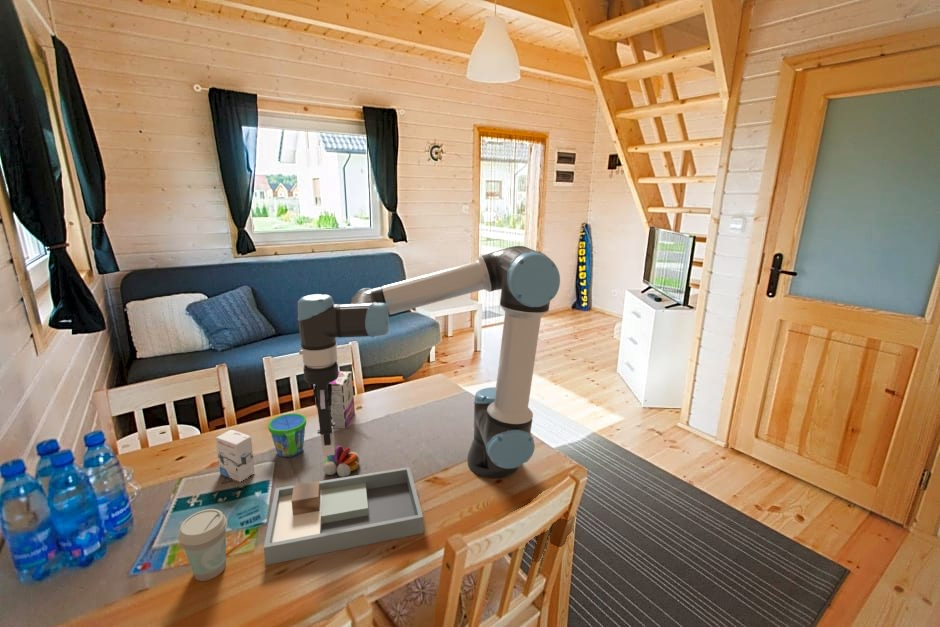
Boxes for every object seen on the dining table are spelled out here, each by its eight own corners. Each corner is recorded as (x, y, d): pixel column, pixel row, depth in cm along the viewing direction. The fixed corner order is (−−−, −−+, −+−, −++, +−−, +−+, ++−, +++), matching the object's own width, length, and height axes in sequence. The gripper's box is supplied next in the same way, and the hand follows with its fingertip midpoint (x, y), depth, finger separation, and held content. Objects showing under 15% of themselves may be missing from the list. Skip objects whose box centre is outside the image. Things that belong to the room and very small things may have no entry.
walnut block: (320, 494, 112) (319, 481, 110) (319, 510, 106) (318, 496, 105) (295, 499, 110) (293, 485, 109) (293, 515, 104) (291, 501, 103)
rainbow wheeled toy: (350, 480, 121) (349, 457, 119) (318, 476, 123) (316, 453, 121) (364, 463, 129) (362, 441, 127) (333, 458, 131) (332, 437, 129)
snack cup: (310, 461, 129) (307, 430, 127) (271, 469, 125) (267, 438, 123) (307, 435, 143) (304, 407, 141) (272, 441, 139) (268, 412, 137)
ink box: (219, 474, 123) (213, 437, 120) (235, 465, 127) (230, 428, 124) (241, 483, 119) (235, 445, 116) (256, 473, 124) (251, 436, 121)
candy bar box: (341, 412, 158) (338, 370, 154) (355, 413, 158) (352, 370, 154) (331, 429, 147) (328, 384, 143) (346, 429, 147) (343, 384, 143)
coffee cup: (200, 594, 87) (190, 543, 83) (178, 574, 91) (168, 526, 88) (241, 564, 94) (234, 517, 90) (219, 547, 98) (211, 501, 95)
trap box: (410, 481, 121) (409, 466, 120) (423, 533, 103) (423, 516, 102) (277, 503, 112) (275, 488, 111) (265, 565, 93) (263, 547, 92)
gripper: (304, 354, 105) (313, 441, 111) (300, 375, 93) (311, 472, 99) (337, 351, 107) (344, 437, 113) (337, 371, 95) (345, 466, 101)
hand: (328, 453), depth 106 cm, fingers closed
